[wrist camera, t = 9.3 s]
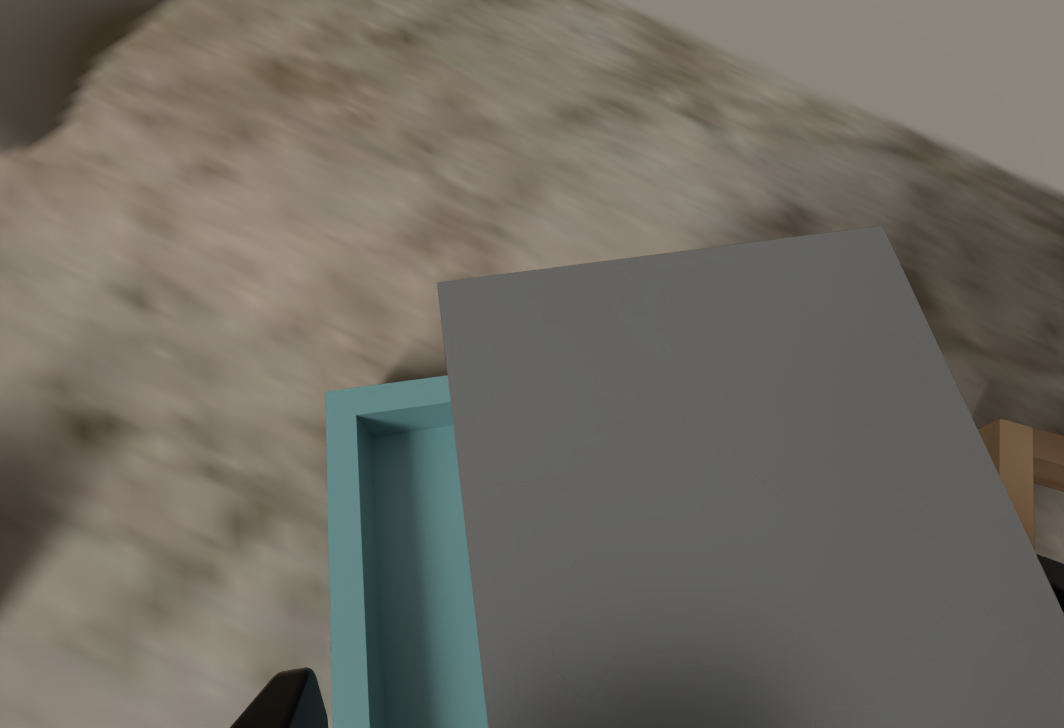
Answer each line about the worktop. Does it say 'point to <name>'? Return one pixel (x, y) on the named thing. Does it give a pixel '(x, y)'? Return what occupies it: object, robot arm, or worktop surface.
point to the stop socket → (1024, 463)
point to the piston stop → (736, 500)
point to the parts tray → (399, 562)
